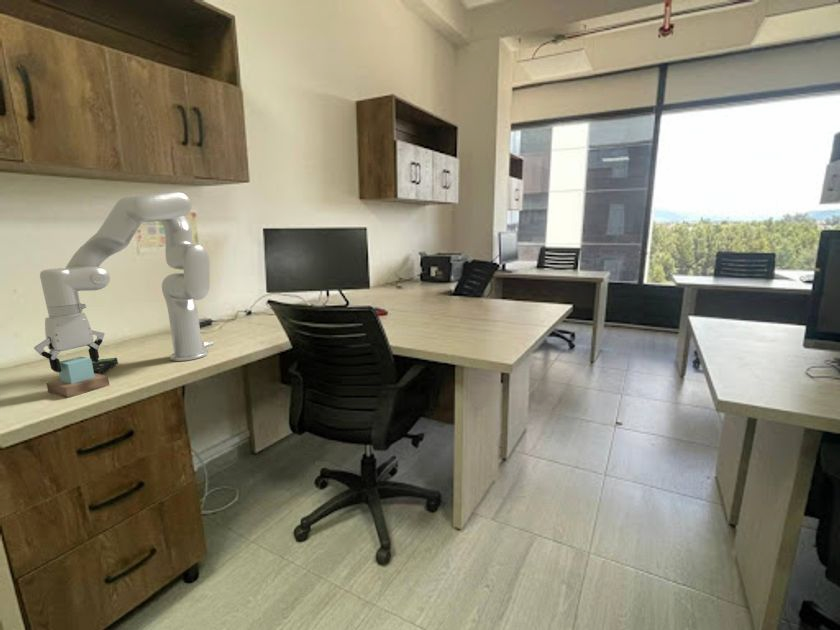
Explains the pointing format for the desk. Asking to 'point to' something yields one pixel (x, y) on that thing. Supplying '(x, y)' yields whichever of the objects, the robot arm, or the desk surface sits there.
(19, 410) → the desk surface
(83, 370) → the teal cube
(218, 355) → the desk surface
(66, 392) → the walnut base
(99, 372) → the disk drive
